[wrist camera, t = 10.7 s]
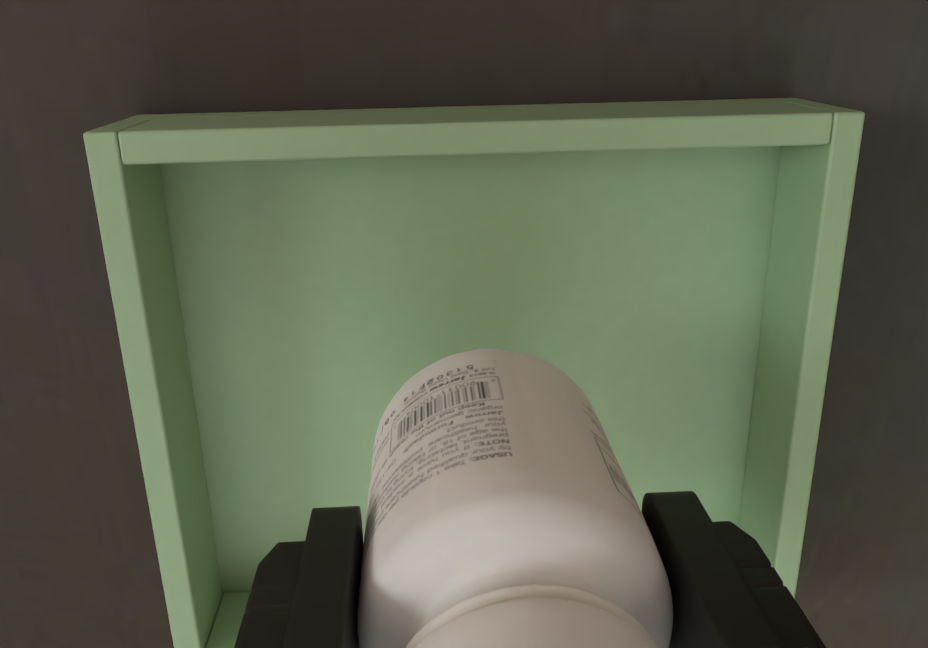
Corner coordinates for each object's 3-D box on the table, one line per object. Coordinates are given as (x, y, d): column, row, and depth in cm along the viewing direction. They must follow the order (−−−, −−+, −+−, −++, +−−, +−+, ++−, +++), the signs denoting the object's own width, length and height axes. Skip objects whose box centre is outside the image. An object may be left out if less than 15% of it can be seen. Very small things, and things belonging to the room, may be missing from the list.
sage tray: (209, 591, 22) (178, 677, 19) (135, 114, 17) (81, 132, 15) (742, 565, 22) (789, 643, 19) (796, 97, 18) (867, 110, 15)
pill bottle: (343, 507, 16) (284, 896, 9) (420, 310, 15) (422, 582, 8) (545, 567, 17) (640, 970, 10) (635, 385, 16) (822, 697, 8)
